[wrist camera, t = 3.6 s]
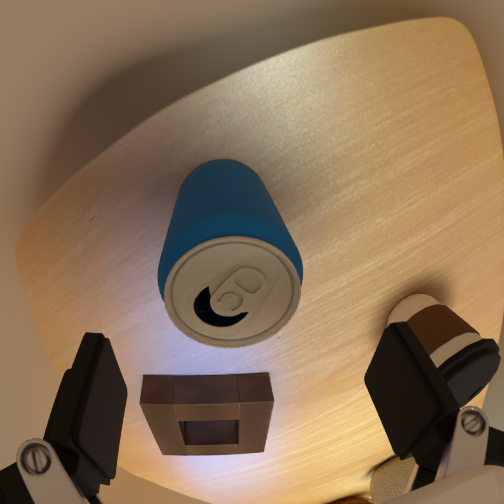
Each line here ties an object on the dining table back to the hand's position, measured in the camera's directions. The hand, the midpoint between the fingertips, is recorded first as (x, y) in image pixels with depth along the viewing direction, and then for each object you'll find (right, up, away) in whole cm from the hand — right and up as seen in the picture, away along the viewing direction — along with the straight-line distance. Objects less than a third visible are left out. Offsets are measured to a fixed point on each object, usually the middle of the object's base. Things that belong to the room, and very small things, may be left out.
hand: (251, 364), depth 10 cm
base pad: (-5, -16, +26) cm, 31 cm away
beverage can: (-2, +8, +13) cm, 16 cm away
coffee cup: (+18, -3, +22) cm, 29 cm away
